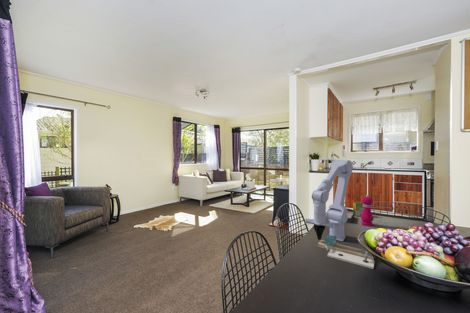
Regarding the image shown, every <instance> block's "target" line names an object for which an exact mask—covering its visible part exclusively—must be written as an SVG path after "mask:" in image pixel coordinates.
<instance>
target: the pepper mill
mask: <svg viewBox="0 0 470 313" xmlns="http://www.w3.org/2000/svg"><path fill="white" fill-rule="evenodd" d="M361 201H362V202H363V206H364V210H363V213H362V214H361V216H360V219H361V226H364V227H373V221H374V215H373V213H372V207H373V205H372V204H373V202H374V201H373V199H372V198H371V197H370V195H369V194H366V195H365V196H364V197H363V198H362V199H361Z"/></svg>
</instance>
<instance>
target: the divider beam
mask: <svg viewBox="0 0 470 313" xmlns="http://www.w3.org/2000/svg"><path fill="white" fill-rule="evenodd" d="M318 241H319V242H318V243H317V247H318V248H322V249H325V250H326V245H325V239H324V240H322V239H321V240H318ZM331 249H332V250H336V251H340V252H344V253H348V254H352V255H356V256H360V257H364V258H365V261H367V259H371V260H374V257H375V256H374V257H373V256H372V255H371V254H370V253H368V252H367V251H366V250H365V249H364V248H363V247H362V246H361V248H357V247H353V246H349V245H344V244H340V243H338V242H336V244H335V245H334V247H333V246H328V251H330V250H331Z"/></svg>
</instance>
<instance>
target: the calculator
mask: <svg viewBox="0 0 470 313" xmlns="http://www.w3.org/2000/svg"><path fill="white" fill-rule="evenodd" d="M354 219H355V216H354V214H353V212H352V213H351V212H348V219H347V221H346V223H347V224H352V223H353V221H354ZM346 223H345V224H346Z"/></svg>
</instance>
